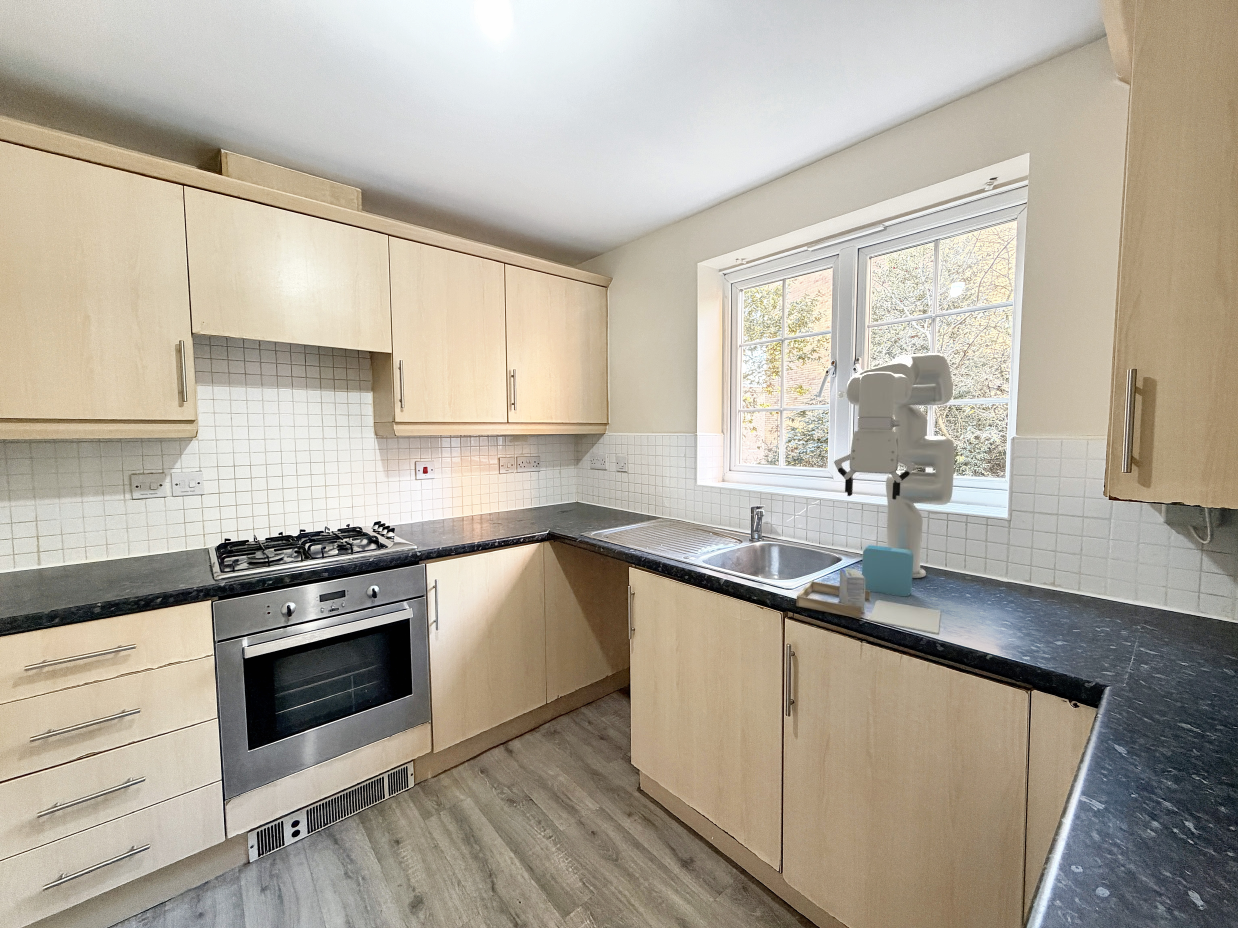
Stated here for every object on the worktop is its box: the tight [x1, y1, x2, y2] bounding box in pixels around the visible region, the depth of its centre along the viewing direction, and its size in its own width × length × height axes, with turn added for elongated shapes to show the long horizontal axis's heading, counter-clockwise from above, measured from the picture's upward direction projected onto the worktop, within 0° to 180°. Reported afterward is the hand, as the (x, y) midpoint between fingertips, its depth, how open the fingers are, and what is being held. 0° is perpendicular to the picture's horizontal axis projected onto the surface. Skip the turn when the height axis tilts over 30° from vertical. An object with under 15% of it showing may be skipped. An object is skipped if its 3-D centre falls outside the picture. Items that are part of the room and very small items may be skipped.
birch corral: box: [795, 580, 871, 619], centre depth 133 cm, size 15×15×2 cm
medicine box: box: [838, 568, 866, 613], centre depth 130 cm, size 8×4×9 cm, turn 168°
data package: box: [861, 544, 914, 597], centre depth 142 cm, size 12×4×12 cm, turn 57°
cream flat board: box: [867, 599, 941, 635], centre depth 124 cm, size 16×14×1 cm
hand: (871, 497), depth 123 cm, fingers open, 9 cm apart
